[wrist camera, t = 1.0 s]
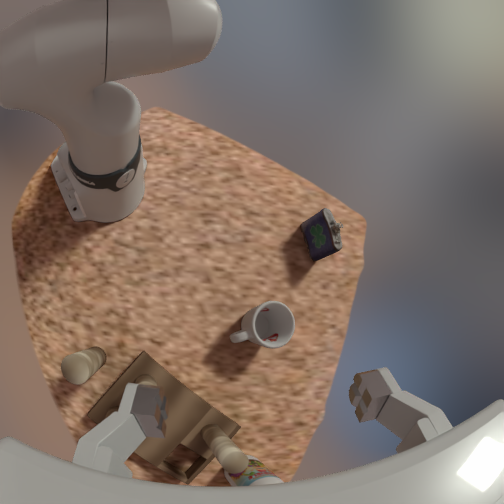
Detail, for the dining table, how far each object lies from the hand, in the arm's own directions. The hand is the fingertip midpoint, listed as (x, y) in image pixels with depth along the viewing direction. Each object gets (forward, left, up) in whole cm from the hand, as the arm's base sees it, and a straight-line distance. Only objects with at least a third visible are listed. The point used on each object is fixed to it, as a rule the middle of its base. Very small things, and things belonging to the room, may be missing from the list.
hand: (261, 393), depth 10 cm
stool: (+8, -12, -38) cm, 41 cm away
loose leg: (-8, -11, -38) cm, 40 cm away
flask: (+8, +36, -38) cm, 53 cm away
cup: (+9, +12, -38) cm, 41 cm away
